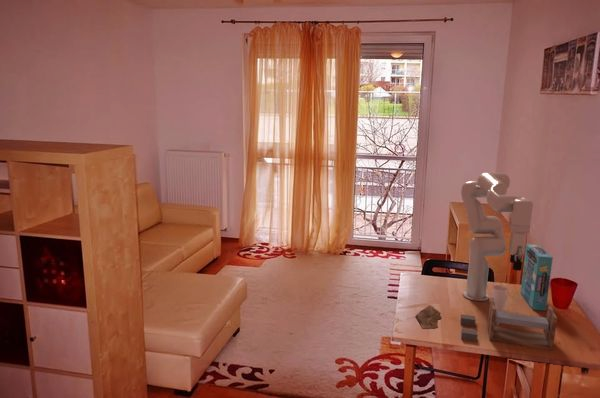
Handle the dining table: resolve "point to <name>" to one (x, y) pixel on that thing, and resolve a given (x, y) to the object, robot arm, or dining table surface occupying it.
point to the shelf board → (521, 320)
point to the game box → (536, 276)
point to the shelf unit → (522, 331)
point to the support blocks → (468, 333)
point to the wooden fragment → (428, 317)
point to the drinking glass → (499, 296)
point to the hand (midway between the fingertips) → (515, 266)
